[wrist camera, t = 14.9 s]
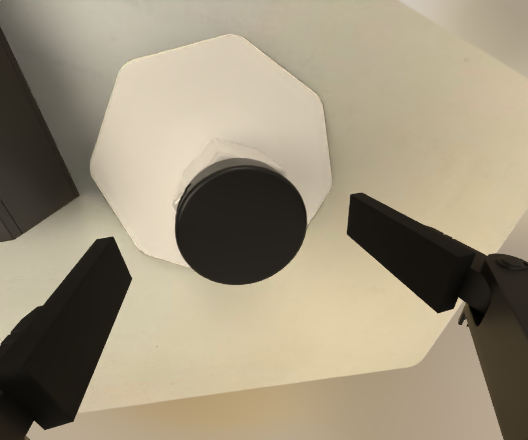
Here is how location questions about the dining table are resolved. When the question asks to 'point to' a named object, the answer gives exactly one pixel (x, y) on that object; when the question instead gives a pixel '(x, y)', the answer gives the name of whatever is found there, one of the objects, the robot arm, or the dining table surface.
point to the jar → (237, 215)
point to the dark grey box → (26, 156)
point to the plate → (202, 131)
